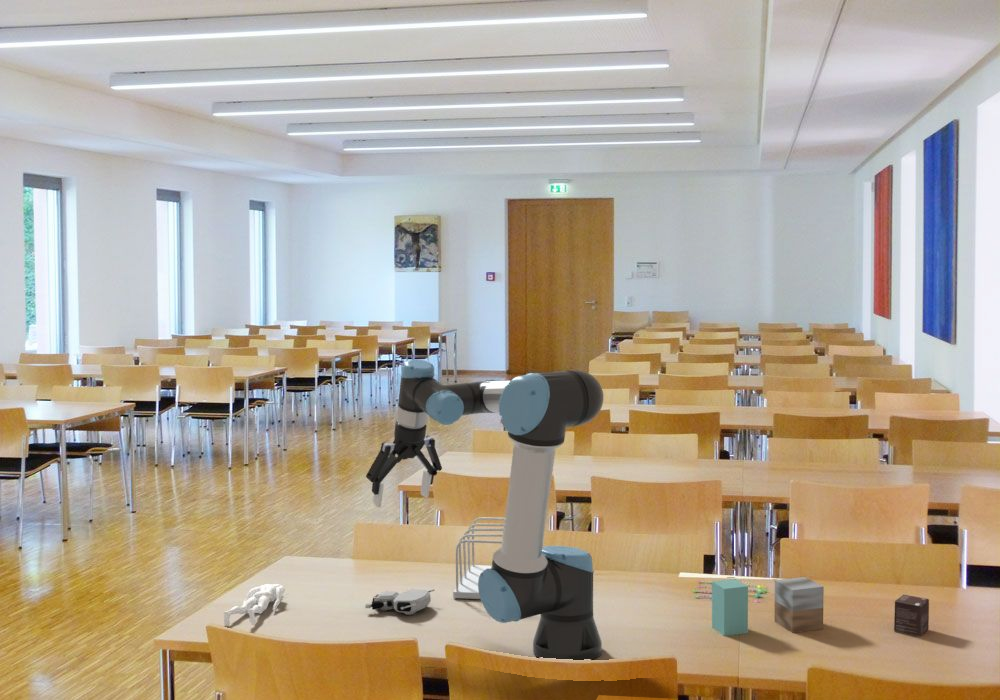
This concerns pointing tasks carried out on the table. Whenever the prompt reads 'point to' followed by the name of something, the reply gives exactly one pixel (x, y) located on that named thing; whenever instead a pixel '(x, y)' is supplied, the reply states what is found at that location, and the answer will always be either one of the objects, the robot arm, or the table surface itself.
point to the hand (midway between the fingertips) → (400, 500)
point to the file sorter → (470, 579)
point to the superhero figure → (257, 601)
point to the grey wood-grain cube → (799, 604)
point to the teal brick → (730, 607)
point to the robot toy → (401, 601)
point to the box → (911, 615)
